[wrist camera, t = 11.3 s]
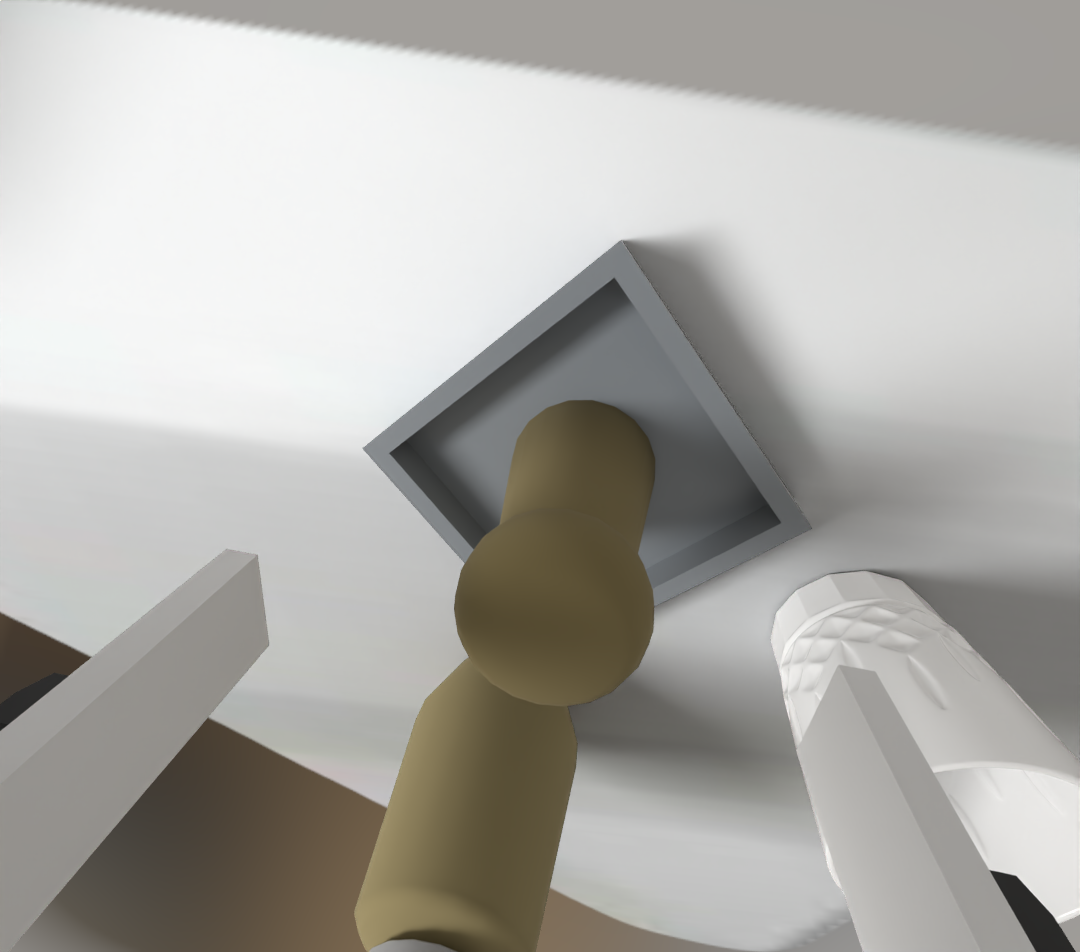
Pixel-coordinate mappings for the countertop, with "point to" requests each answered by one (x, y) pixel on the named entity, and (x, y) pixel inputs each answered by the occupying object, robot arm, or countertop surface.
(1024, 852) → the white cup
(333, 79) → the countertop surface
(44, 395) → the countertop surface
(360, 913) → the squeeze bottle
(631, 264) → the tray
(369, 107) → the countertop surface
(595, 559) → the cork
